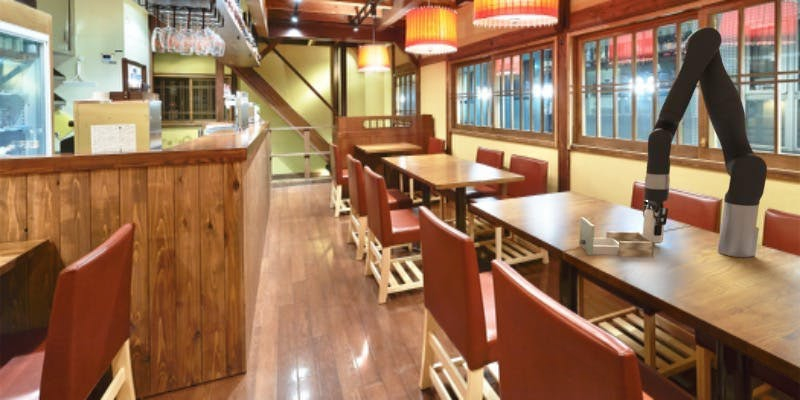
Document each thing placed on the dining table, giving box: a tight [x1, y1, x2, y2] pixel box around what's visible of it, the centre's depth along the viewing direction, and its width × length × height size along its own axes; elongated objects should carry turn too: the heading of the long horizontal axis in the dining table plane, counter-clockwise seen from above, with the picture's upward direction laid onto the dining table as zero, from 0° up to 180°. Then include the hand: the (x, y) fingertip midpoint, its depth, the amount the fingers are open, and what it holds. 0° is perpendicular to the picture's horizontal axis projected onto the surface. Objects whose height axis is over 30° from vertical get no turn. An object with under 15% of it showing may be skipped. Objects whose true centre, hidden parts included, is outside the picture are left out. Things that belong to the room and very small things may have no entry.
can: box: [642, 207, 665, 245], centre depth 161 cm, size 6×6×12 cm
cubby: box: [605, 231, 656, 258], centre depth 156 cm, size 11×13×5 cm
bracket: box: [578, 216, 619, 256], centre depth 156 cm, size 12×12×10 cm
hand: (653, 232), depth 161 cm, fingers closed on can, 6 cm apart
